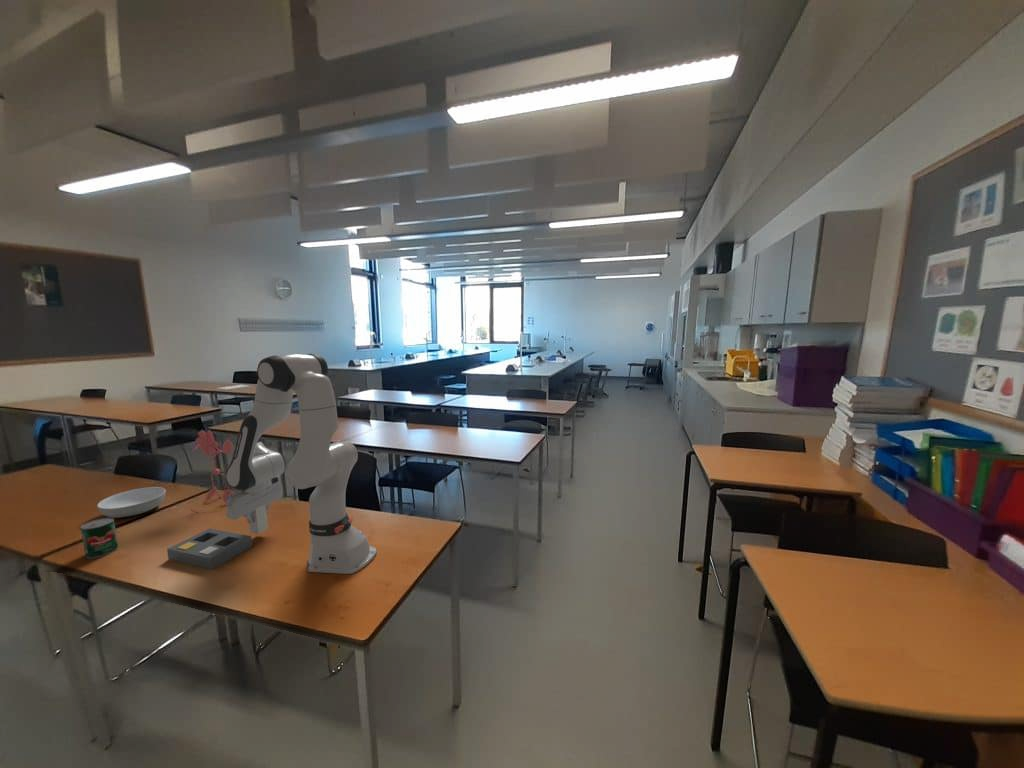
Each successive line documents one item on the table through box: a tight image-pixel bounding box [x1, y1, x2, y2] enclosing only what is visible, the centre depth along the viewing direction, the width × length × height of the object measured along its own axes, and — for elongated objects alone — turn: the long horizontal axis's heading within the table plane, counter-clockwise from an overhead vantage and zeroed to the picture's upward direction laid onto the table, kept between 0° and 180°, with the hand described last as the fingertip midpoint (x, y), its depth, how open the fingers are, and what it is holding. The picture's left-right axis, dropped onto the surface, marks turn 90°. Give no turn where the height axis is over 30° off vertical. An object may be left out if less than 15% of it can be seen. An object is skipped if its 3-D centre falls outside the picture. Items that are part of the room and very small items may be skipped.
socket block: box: [166, 528, 253, 571], centre depth 131 cm, size 20×14×4 cm
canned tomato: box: [80, 517, 119, 559], centre depth 131 cm, size 8×8×11 cm
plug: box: [248, 504, 269, 535], centre depth 141 cm, size 4×4×10 cm
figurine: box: [191, 429, 233, 505], centre depth 166 cm, size 15×26×35 cm, turn 72°
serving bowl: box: [96, 486, 167, 518], centre depth 161 cm, size 21×21×7 cm
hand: (258, 519), depth 141 cm, fingers closed on plug, 4 cm apart
